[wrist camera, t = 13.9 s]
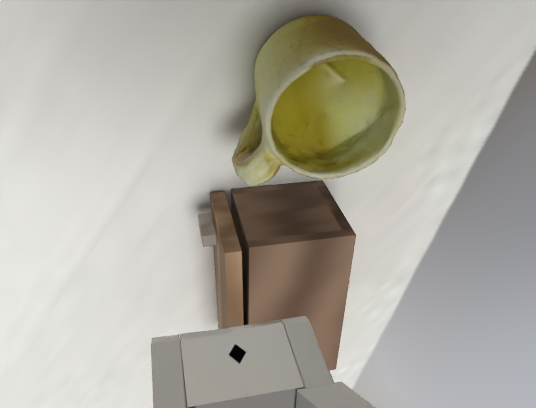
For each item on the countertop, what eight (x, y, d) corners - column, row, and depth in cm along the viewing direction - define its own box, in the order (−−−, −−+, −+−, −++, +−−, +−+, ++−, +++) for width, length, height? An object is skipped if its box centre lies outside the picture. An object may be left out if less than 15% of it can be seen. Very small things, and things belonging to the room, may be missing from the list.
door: (225, 191, 42) (243, 250, 36) (231, 324, 51) (246, 392, 44) (195, 194, 42) (207, 255, 35) (206, 328, 50) (217, 397, 44)
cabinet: (322, 180, 44) (355, 235, 38) (310, 306, 52) (335, 369, 46) (231, 189, 42) (249, 247, 36) (233, 317, 51) (248, 384, 44)
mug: (353, -44, 33) (401, 57, 27) (382, 67, 41) (424, 162, 35) (185, 34, 35) (197, 141, 30) (244, 124, 44) (263, 221, 38)
